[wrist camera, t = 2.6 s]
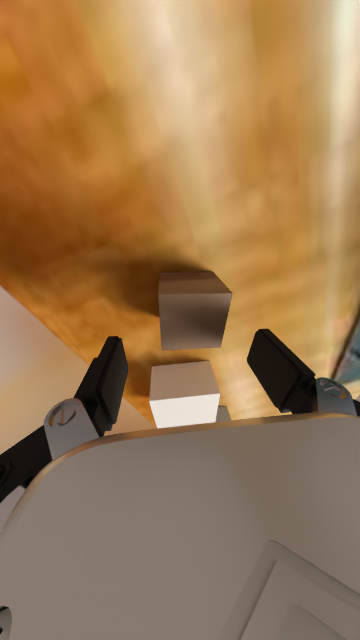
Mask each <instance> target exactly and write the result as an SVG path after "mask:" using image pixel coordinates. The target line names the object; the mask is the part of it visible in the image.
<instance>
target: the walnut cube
mask: <svg viewBox="0 0 360 640" xmlns="http://www.w3.org/2000/svg"><path fill="white" fill-rule="evenodd" d="M231 298H232V292H231V291H230V290H229V289H228V288H227V287H226V285H225V284H224V283H223V282H222V281H221V280H220V279H219V278H218V277H217V276H216V274H215V273H214V272H160V276H159V289H158V302H159V316H160V331H161V345H162V350H180V349H200V348H220V347H221V343H222V339H223V334H224V330H225V325H226V320H227V316H228V311H229V307H230V302H231Z"/></svg>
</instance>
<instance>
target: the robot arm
mask: <svg viewBox="0 0 360 640" xmlns="http://www.w3.org/2000/svg"><path fill="white" fill-rule="evenodd" d="M247 362H248V364H249V366H250V368H251V369H252V371H253V372H254V374H255V375H256V377H257V379H258V380H259V382H260V383H261V385H262V387H263V388H264V390H265V391H266V393H267V395H268V396H269V398H270V399H271V401H272V403H273V404H274V406H275V407H277V408H278V409H279V411H280V412H281V413H286V412H290V411H291V412H292V414H291V415H281V416H270V417H260V418H250V419H241V420H231V421H222V422H212V423H203V424H193V425H184V426H175V427H166V428H157V429H149V430H141V431H134V432H126V433H119V434H114V435H108V436H104V433H105V431H111V428H112V425H113V424H115V423H116V421H117V416H118V412H119V408H120V403H121V399H122V395H123V391H124V386H125V382H126V378H127V374H128V364H127V360H126V356H125V351H124V347H123V343H122V339H121V338H119V337H118V336H110V337H108V338H107V340H106V342H105V344H104V346H103V348H102V350H101V352H100V354H99V356H98V357H97V358H94V359H93V361H92V363H91V365H90V367H89V369H88V371H87V373H86V375H85V376H84V378H83V381H82V382H81V384H80V386H79V388H78V390H77V392H76V394H75V396H74V398H70V399H66V400H64V401H62V402H60V403H58V404H57V405H55V406H54V407H53V408H52V409H51V410H50V411H49V412H48V414H47V415H46V417H45V420H44V425H43V426H41V427H40V428H38V429H37V430H36V431H34V432H33V433H31V434H30V435H28V436H27V437H25V438H24V439H22V440H21V441H20V442H18V443H17V444H15V445H14V446H12V447H11V448H10V449H8V450H7V451H5V452H4V453H2V454H1V455H0V530H1V531H0V640H360V402H358V401H356V400H354V399H352V396H351V394H350V392H349V391H348V390H347V389H346V388H345V387H344V386H342V385H341V384H339V383H338V382H336V381H334V380H332V379H328V378H323V377H321V378H318V379H317V380H316V379H315V378H314V376H315V375H316V374H315V373H314V372H313V371H312V370H311V369H310V368H308V367H307V366H306V365H305V364H304V363H303V362H302V361H301V360H300V359H299V358H298V357H297V356H296V355H295V354H294V353H293V352H292V351H291V350H290V349H289V348H288V347H287V346H286V345H285V344H284V343H283V342H282V341H280V340H279V339H278V338H277V337H276V336H275V335H274V334H273V333H272V332H271V331H270V330H269V329H259V330H258V331H257V332H256V333H255V336H254V339H253V342H252V345H251V348H250V351H249V354H248V357H247ZM103 436H104V437H103Z"/></svg>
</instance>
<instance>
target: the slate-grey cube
mask: <svg viewBox="0 0 360 640" xmlns="http://www.w3.org/2000/svg"><path fill="white" fill-rule="evenodd" d="M222 421H231V418H230V415H229V412H228V409H227V406H221V407H218V409H217V415H216V421H215V422H222Z"/></svg>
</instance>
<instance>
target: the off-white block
mask: <svg viewBox="0 0 360 640" xmlns="http://www.w3.org/2000/svg"><path fill="white" fill-rule="evenodd" d="M219 397H220V391H219V388H218V385H217V382H216V379H215V375H214V372H213V369H212V366H211V363H210V361H201V362H191V363H181V364H171V365H161V366H152V373H151V385H150V396H149V402H150V406H151V409H152V412H153V415H154V419H155V422H156V425H157V428H166V427H175V426H184V425H193V424H203V423H212V422H215V421H216V415H217V409H218V403H219Z"/></svg>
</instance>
